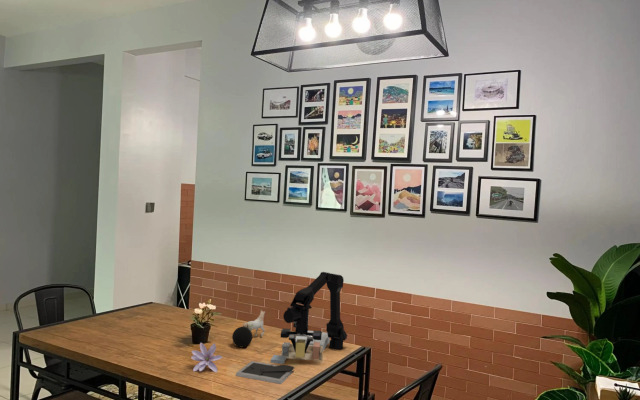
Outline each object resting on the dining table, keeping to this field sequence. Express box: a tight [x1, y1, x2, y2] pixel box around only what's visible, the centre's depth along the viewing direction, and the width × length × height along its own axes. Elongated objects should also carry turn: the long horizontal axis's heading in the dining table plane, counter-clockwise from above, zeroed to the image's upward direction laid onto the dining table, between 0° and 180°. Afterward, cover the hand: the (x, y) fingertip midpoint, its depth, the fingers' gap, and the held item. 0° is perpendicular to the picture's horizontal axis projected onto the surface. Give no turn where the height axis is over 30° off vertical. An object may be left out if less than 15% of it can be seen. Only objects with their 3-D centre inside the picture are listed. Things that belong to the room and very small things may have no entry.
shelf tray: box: [280, 342, 324, 362], centre depth 234 cm, size 20×10×5 cm, turn 88°
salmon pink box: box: [312, 342, 320, 359], centre depth 233 cm, size 3×7×6 cm, turn 178°
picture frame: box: [235, 360, 295, 385], centre depth 212 cm, size 16×3×21 cm
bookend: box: [281, 341, 291, 357], centre depth 234 cm, size 3×6×5 cm, turn 178°
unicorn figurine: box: [242, 308, 266, 339], centre depth 261 cm, size 7×20×13 cm, turn 153°
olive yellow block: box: [295, 339, 306, 358], centre depth 224 cm, size 4×6×6 cm, turn 178°
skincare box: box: [296, 330, 331, 352], centre depth 252 cm, size 21×5×16 cm
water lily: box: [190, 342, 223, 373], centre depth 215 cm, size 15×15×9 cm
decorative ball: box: [231, 326, 253, 348], centre depth 246 cm, size 10×10×10 cm
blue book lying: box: [270, 354, 287, 365], centre depth 225 cm, size 6×6×3 cm
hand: (300, 352), depth 224 cm, fingers closed on olive yellow block, 4 cm apart
